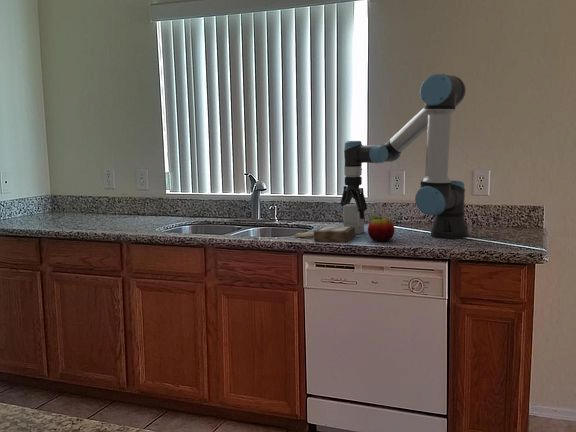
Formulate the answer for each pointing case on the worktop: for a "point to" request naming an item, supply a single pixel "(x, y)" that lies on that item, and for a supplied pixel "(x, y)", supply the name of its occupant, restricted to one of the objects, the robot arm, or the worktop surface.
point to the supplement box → (352, 217)
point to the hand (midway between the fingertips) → (353, 223)
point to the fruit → (380, 229)
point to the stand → (334, 234)
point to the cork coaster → (305, 234)
